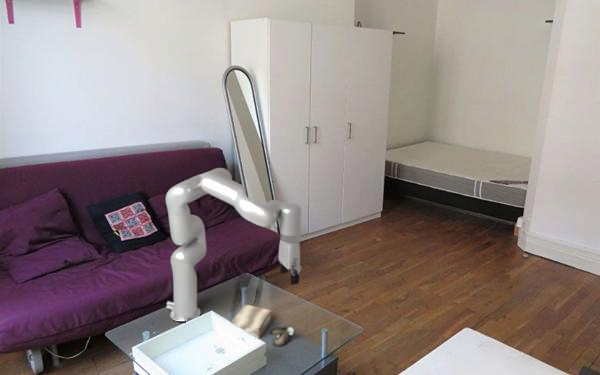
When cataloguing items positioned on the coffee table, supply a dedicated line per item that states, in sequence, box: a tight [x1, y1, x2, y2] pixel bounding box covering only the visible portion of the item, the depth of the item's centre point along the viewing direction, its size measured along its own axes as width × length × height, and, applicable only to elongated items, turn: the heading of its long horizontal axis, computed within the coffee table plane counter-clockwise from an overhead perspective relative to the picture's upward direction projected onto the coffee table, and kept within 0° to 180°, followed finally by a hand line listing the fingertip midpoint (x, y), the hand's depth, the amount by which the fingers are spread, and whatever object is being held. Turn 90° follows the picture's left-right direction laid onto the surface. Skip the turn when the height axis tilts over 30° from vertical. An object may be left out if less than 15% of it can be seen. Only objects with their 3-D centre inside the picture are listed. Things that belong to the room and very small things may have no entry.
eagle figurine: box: [268, 322, 295, 348], centre depth 186 cm, size 8×7×9 cm
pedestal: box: [230, 304, 272, 339], centre depth 194 cm, size 12×14×5 cm
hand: (289, 278), depth 179 cm, fingers open, 9 cm apart
